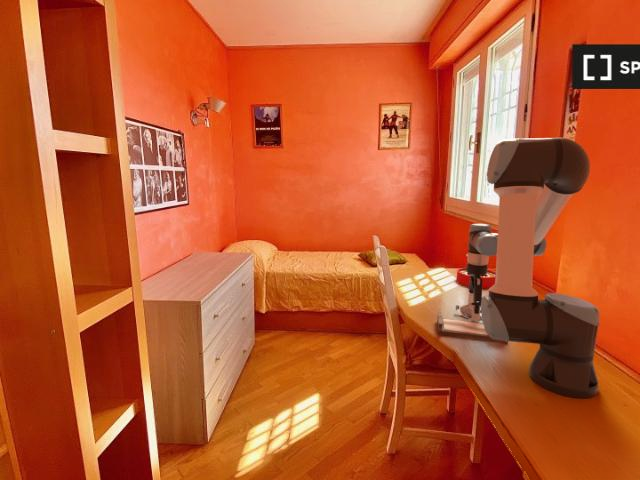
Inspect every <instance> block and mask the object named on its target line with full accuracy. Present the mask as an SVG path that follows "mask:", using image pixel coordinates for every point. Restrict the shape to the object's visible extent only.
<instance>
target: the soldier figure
mask: <svg viewBox="0 0 640 480" xmlns="http://www.w3.org/2000/svg"><path fill="white" fill-rule="evenodd" d="M472 303H474V302H472ZM472 303H470V304H468V303H467V304H465V305H462V306H461V305H458V304H457V305H456V306H455V310H456V311H458V310H460V314H461V315H462V316H463V317H464V318H465V319H467V320H469V318H470V317H471V318H472V309H470V308H468V307H469V306H471V304H472ZM480 314H481V309H480ZM480 319H481V320H482V315H480Z"/></svg>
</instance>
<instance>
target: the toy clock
mask: <svg viewBox="0 0 640 480" xmlns="http://www.w3.org/2000/svg"><path fill="white" fill-rule="evenodd" d="M466 269H467V267H462V268H458V269H457V270H456V283H458V284H460V285H462V284H463V285H462V286H465V285H466V287H469V282H470V276H471V274H470V273H468V272H467V271H466ZM481 279H482V280H483V282H482V289H489V288H491V287H492V286H493V285H494V284H495V281H496V271H494V270H490V269H488V270H487V274H485V275H481Z"/></svg>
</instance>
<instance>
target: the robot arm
mask: <svg viewBox="0 0 640 480" xmlns="http://www.w3.org/2000/svg"><path fill="white" fill-rule="evenodd" d="M590 171H591V162H590V158H589V155H588V153H587V151H586V150H585V148H584V147H583V146H582V145H581V144H580V143H578V142H577V141H575V140H572V139H570V138H567V137H566V138H565V137H550V138H549V137H544V138H543V137H541V138H540V137H539V138H537V137H535V138H527V137H525V138H519V137H516V138H513V139H512V138H511V139H508V138H507V139H502V140H499V141H498V142H497V143H496V144H495V146H494V147H493V149H492V152H491V154H490V157H489V160H488V164H487V171H486V181H487V183H488V184H491V185H493V192H495V194H496V195H497V196H498V197H499V200H498V202H499V203H498V222H497V223H498V224H497V233H496V232H494V233H493V232H492V226H491V225H490V224H488V223H472V224H470V226H469V231H468V245H467V246H468V247H467V254H465V256H466V258H467V263H466V268H467V269H466V271H467V272H468V273H470V274H471V276H470V282H469V286H468V299H467V305H468V304H470V303H472V302H474V303H472V304H471V306H469V307H467V308H470V309H471V310H472V317H471V321H473V322H480V316H481V317H482V319H481V321H482V323H483V324H484V328H485V330H486V332H487V334H488V335H489V336H490V337H491V338H492V339H496V340H503V341H506V342H508V343H509V342H512V343H513V342H515V343H516V342H517V343H523V344H524V343H527V344H535V345H537V344H538V345H539V348H538V350H537V352H536V353H535V355H534V356H533V358H532V360H531V362H530V364H529V368H528V374H529V377H530V378H531V380H533V381H534V382H535V383H536V384H537V385H539V386H541V387H543V388H544V389H546V390H549V391H550V392H552V393H555V394H558V395H562V396H566V397H569V398H577V399H588V398H592V397H595V396H596V395H597V394H598V391H599V380H598V376H597V372H596V367H595V365H594V356H595V350H596V344H597V339H598V338H597V337H598V330H599V327H600V325H601V323H600V310H599V308H598V307H597V306H596V305H594V304H593V303H592V302H589V301H587V300H584V299H581V298H579V297H575V296H571V295H569V294H563V293H556V292H550V293H546V294H545V296H544V299H539V293H538V292H537V291H536V289H534V288H533V275H534V274H533V271H534V257H537V256H540V257H541V256H543V254H545V252H546V248H547V239H546V235H547V234H548V232H549V231H550V229H551V228H552V226H553V225H554V223H555V222H556V220H557V219H558V217H559V216H560V214H561V213H562V212H563V209H564V208H565V207H566V205H567V204H568V202H569V200H570V199H571V198H572V196H573V195H575V194H579V192H580V191H581V190H582V189H583V187H584V186H585V184H586V183H587V181H588V179H589V177H590ZM492 256H496V262H495V266H496V267H495V272H496V281H495V284H494V285H493V286H492V287H491V288H488V294H486V295H483V288H482V282H483V280H482V279H481V275H485V274H487V270H489V268H488V267H489V265H488V264H489V259H490V257H492ZM480 310H481V313H480Z"/></svg>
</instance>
